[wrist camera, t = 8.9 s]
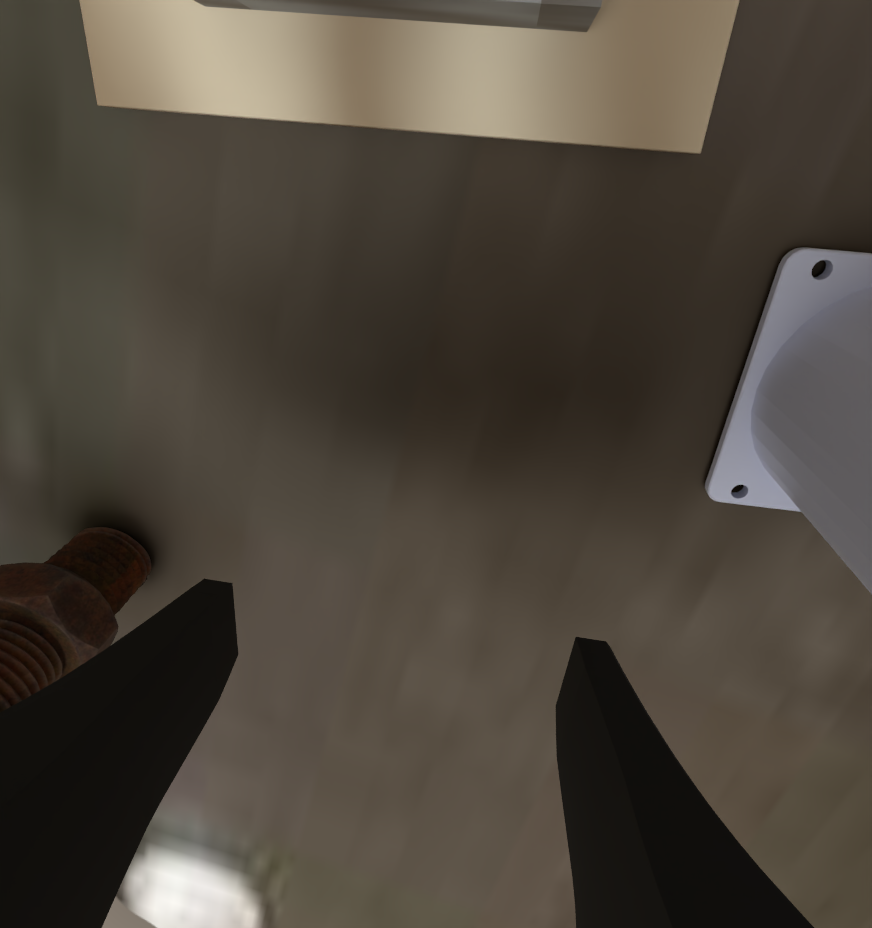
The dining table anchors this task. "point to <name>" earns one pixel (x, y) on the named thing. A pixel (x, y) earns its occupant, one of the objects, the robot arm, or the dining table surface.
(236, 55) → the socket base
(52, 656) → the bolt
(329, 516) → the dining table surface
